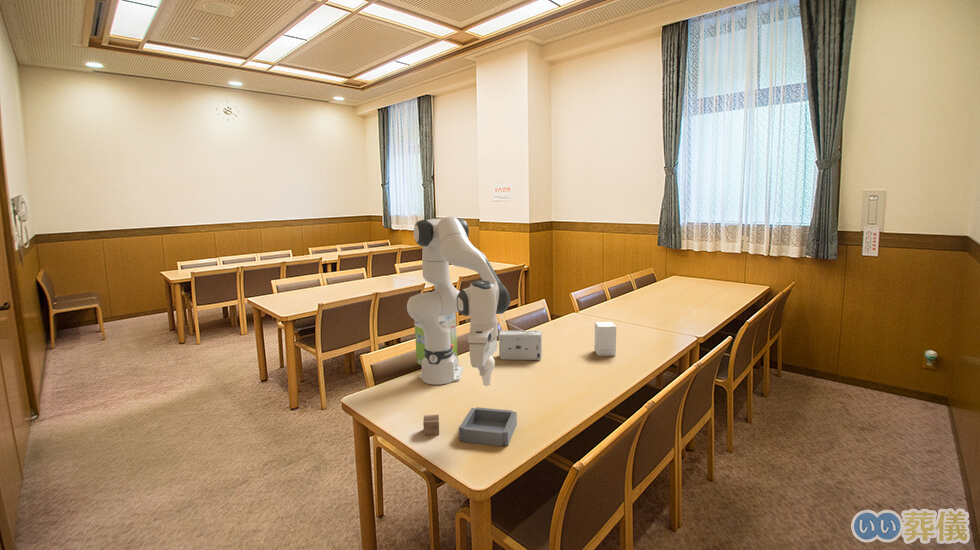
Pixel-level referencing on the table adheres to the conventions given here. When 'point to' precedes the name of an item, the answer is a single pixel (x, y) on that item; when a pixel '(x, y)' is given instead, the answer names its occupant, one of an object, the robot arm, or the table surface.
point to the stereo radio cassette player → (520, 345)
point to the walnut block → (431, 425)
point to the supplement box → (605, 339)
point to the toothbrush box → (420, 341)
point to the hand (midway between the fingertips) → (485, 371)
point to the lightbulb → (488, 371)
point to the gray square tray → (488, 426)
